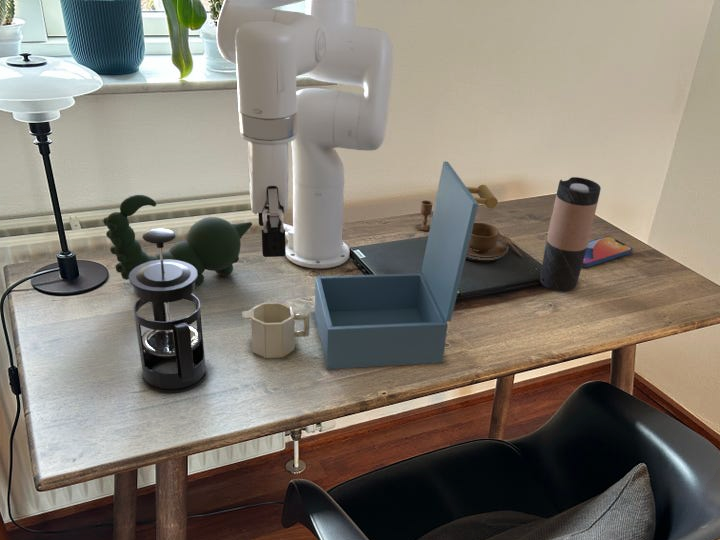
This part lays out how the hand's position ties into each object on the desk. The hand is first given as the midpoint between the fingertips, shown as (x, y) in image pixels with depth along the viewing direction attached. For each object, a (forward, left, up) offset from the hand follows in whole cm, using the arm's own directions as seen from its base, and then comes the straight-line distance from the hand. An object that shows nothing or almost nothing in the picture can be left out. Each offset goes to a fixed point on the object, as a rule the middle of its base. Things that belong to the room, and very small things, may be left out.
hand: (271, 239), depth 108 cm
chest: (+13, +10, -18) cm, 25 cm away
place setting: (+14, +53, -19) cm, 58 cm away
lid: (+21, +16, -1) cm, 27 cm away
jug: (0, -1, -18) cm, 18 cm away
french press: (-8, -15, -19) cm, 25 cm away
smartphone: (+39, +63, -18) cm, 77 cm away
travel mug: (+35, +46, -19) cm, 61 cm away
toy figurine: (-24, +9, -19) cm, 31 cm away
